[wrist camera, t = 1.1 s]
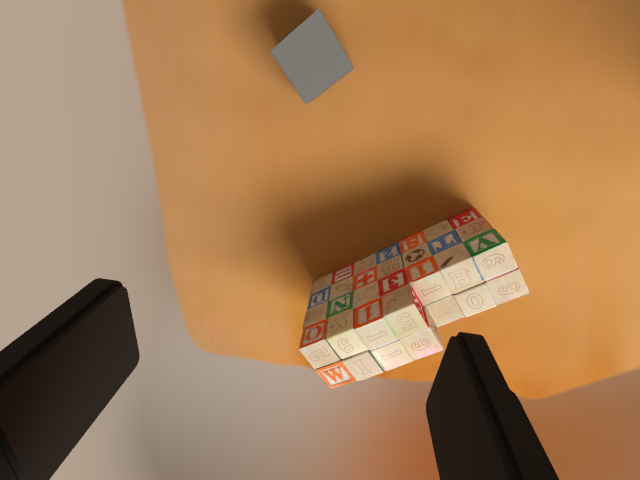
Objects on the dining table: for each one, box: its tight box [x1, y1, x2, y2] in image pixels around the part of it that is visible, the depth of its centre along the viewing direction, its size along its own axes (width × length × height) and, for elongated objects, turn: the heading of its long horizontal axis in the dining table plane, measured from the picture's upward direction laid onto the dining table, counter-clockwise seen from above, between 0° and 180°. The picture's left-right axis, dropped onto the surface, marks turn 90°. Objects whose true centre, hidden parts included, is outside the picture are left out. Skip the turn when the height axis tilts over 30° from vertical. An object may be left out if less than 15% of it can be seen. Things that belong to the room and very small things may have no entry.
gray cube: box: [270, 9, 354, 104], centre depth 30 cm, size 5×5×5 cm
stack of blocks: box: [299, 207, 529, 389], centre depth 35 cm, size 21×6×12 cm, turn 122°
